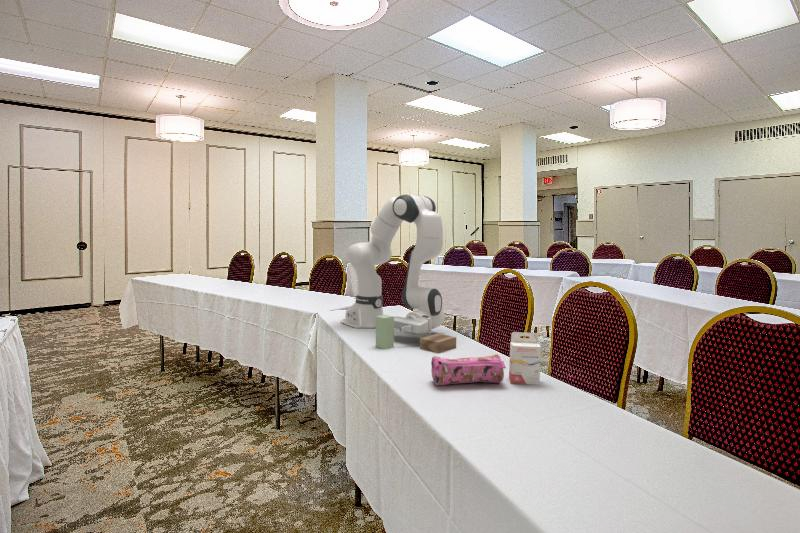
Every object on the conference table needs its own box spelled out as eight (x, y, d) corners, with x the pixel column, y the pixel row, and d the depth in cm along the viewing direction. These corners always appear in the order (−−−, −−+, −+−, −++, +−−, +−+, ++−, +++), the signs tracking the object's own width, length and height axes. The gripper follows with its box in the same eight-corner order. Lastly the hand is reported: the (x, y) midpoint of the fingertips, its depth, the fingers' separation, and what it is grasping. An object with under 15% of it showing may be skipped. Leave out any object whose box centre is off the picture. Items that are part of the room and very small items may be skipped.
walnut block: (419, 348, 181) (419, 338, 180) (437, 343, 189) (437, 333, 188) (438, 353, 174) (438, 342, 174) (456, 347, 182) (456, 337, 182)
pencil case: (434, 390, 136) (435, 360, 135) (429, 379, 145) (429, 351, 144) (506, 388, 138) (507, 358, 137) (497, 377, 147) (497, 350, 147)
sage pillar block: (375, 346, 183) (375, 316, 182) (384, 344, 187) (384, 314, 185) (384, 349, 180) (384, 318, 178) (393, 346, 183) (393, 316, 182)
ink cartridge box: (510, 383, 141) (512, 335, 140) (508, 378, 146) (510, 331, 145) (540, 384, 141) (541, 336, 139) (537, 379, 146) (538, 332, 144)
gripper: (397, 311, 202) (373, 315, 192) (434, 318, 188) (411, 323, 178) (396, 325, 203) (373, 331, 193) (434, 333, 189) (411, 339, 179)
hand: (392, 327), depth 185 cm, fingers open, 8 cm apart
